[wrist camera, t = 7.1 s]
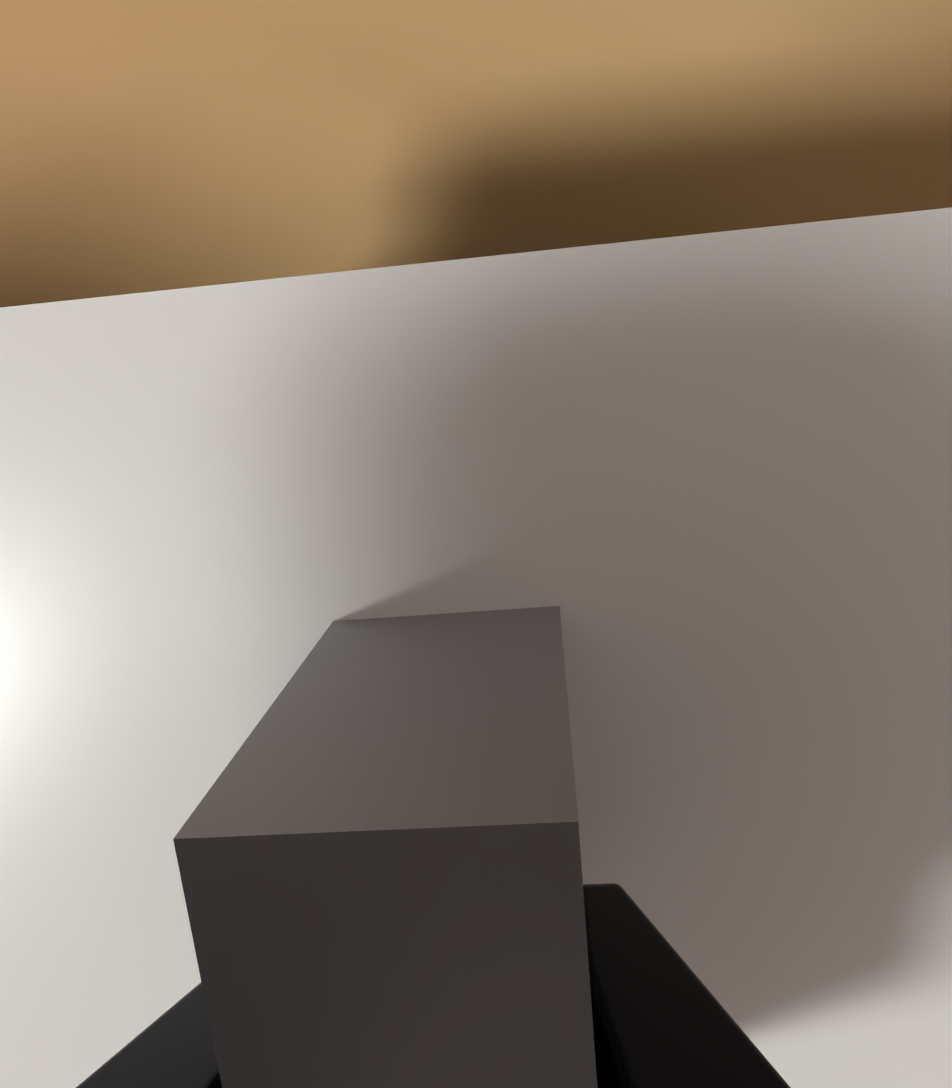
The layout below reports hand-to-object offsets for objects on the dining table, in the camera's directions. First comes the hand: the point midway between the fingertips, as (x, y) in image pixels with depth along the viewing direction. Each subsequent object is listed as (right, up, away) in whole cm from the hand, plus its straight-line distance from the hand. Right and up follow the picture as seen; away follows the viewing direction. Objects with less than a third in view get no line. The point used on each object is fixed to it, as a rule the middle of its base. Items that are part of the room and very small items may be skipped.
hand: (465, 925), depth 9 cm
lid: (0, 0, +2) cm, 2 cm away
